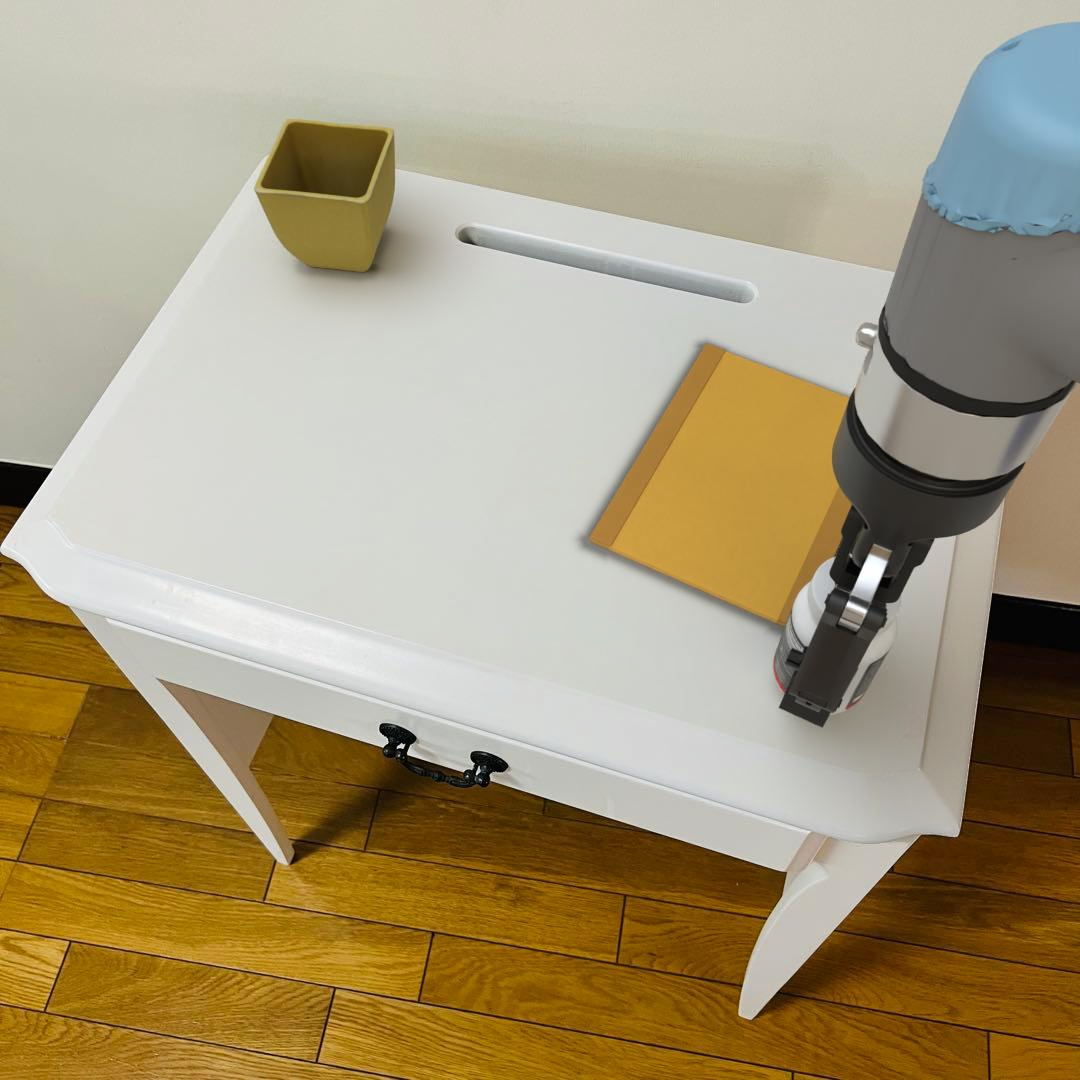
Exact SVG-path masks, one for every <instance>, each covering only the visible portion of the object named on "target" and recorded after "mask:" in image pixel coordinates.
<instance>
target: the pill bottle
mask: <svg viewBox="0 0 1080 1080" xmlns="http://www.w3.org/2000/svg"><path fill="white" fill-rule="evenodd" d="M849 555H850V556H851V558H852V554H849ZM835 557H836V556H834V557H833V558H831V559H829V560H827V561H825V562H824V563H823V564H822V565H821V566H820V567H819V568H818V569H817V571H816V572H815V574H814V577H813V578H812V580H811V581H810V582H809V583H808V584H806V585H805V586H804V587H803V588H802V590H801V591H800V592H799V594H798V595H797V597H796V599H795V601H794V604H793V606H792V609H791V612H790V614H789V617H788V620H787V623H786V625H785V627H783V631H782V634H781V636H780V639H779V641H778V645H777V647H776V649H775V651H774V655H773V662H772V671H773V677H774V680H775V683H776V685H777V687H778V689H779V691H780V692H781V693H782V694H783V695H784V694H785V692H786V689H787V687H788V685H789V682H790V680H791V678H792V676H793V673H794V671H795V669H792V668H790V667H788V666H785V665H784V664H785V662H786V660H787V657H788V655H789V653H790V651H791V649H792V648H794V649H797V650H799V651H801V652H803V650H804V648H805V646H807V647H808V646H809V644H810V642H811V639H812V637H813V635H814V632H815V630H816V628H817V626H818V623H819V621H820V619H821V616H822V614H823V612H824V610H825V607H826V606H825V605H826V604H824V602H825V600H826V597H827V595H828V593H829V594H830V593H831V591H832V590H833V589H834V587H835V582H834V581H833V580H832V578H831V577H830V574H829V572H830V569H831V567H832V564H833V562H834V559H835ZM886 604H887V608H886V609H888V610H887V613H888V614H887V618H888V619H887V621H886V624H885V626H884V628H882V627H881V629H879V631H878V633H877V634H876V636H875V637H874V639H873V640H872V642H871V643H870V645H869V647H868V649H867V651H866V653H865V655H864V657H863V658H862V660H861V662H860V664H859V666H858V668H857V670H856V672H855V674H854V675H853V677H852V679H851V681H850V683H849V685H848V687H847V689H846V691H845V692H844V694H843V696H842V699H843V700H842V703H841V705H840V707H839V708H837V710H836V712H835V711H834V713H830V715H829V716H832V715H838V714H841V713H844V712H846V711H848V710H851V709H852V708H854V707H855V706H857V705H858V703H859V702H860V701H862V699H863V697H865V694H866V693H867V692H868V689H869V688H870V685H871V684H872V682H873V680H874V679H875V676H876V675H877V674H878V671H879V669H880V668H881V666H882V664H883V663H884V661H885V659H886V657H887V655H888V653H889V652H890V650H891V649H892V646H893V644H894V641H895V640H896V637H897V632H898V613H899V611H900V608H901V607H902V595H901V596H900V598H899V599H898V600H897V602H894V603H886Z"/></svg>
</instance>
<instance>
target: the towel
mask: <svg viewBox="0 0 1080 1080" xmlns="http://www.w3.org/2000/svg"><path fill="white" fill-rule="evenodd" d="M849 398H850V397H849V396H846V395H844V394H840V393H838V392H836V391H832V390H830V389H827V388H824V387H823V386H820V385H816V384H814V383H811V382H809V381H806V380H803V379H800V378H798V377H795V376H792V375H791V374H787V373H784V372H782V371H780V370H777V369H774V368H772V367H769V366H766V365H763V364H761V363H758V362H756V361H754V360H753V361H752V360H751V359H749V358H748V359H747V358H745V357H742V356H739V355H737V354H734V353H731V352H729V351H726V350H725V349H724V348H721V347H718V346H715V345H713V344H710V343H705V345H704V346H703V347H702V350H701V351H700V353H699V355H698V356H697V358H696V360H695V361H694V362H693V365H692V366H691V367H690V369H689V371H688V373H687V375H686V376H685V378H684V379H683V381H682V383H681V384H680V386H679V387H678V390H677V391H676V393H675V394H674V396H673V398H672V399H671V401H670V403H669V405H668V406H667V408H666V409H665V411H664V413H663V414H662V415H661V418H660V419H659V421H658V422H657V424H656V426H655V427H654V429H653V431H652V433H651V434H650V435H649V438H648V439H647V441H646V443H645V444H644V446H643V447H642V449H641V451H640V453H639V454H638V456H637V457H636V459H635V460H634V462H633V464H632V466H631V467H630V469H629V471H628V472H627V474H626V476H625V477H624V479H623V481H622V482H621V484H620V486H618V489H617V490H616V492H615V494H614V496H613V497H612V499H611V500H610V502H609V503H608V505H607V507H606V508H605V510H604V512H603V514H602V515H601V517H600V518H599V520H598V521H597V524H595V527H594V528H593V530H592V532H591V533H590V535H589V542H591V543H593V544H595V545H598V546H600V547H602V548H605V549H606V550H608V551H611V552H613V553H616V554H618V555H620V556H623V557H624V558H627V559H629V560H631V561H634V562H636V563H637V564H638V563H639V564H641V565H642V566H645V567H647V568H649V569H652V570H654V571H656V572H659V573H661V574H663V575H665V576H668V577H670V578H672V579H675V580H677V581H679V582H681V583H684V584H686V585H688V586H691V587H692V588H694V589H697V590H700V591H702V592H704V593H707V594H708V595H711V596H712V597H715V598H718V599H720V600H721V601H724V602H727V603H729V604H731V605H733V606H736V607H738V608H740V609H742V610H744V611H747V612H749V613H752V614H753V615H756V616H758V617H760V618H763V619H765V620H767V621H769V622H772V623H774V624H776V625H779V626H781V627H783V628H785V625H786V623H787V620H788V617H789V614H790V612H791V609H792V606H793V604H794V601H795V599H796V597H797V595H798V594H799V592H800V591H801V590H802V588H803V587H804V586H805V585H806V584H808V583H809V582H810V581H811V580H812V578H813V577H814V574H815V572H816V571H817V569H818V568H819V567H820V566H821V565H822V564H823V563H824V562H825V561H827V560H829V559H831V558H833V557H835V556H836V554H837V552H838V550H839V547H840V545H841V543H842V541H843V537H842V534H841V529H842V527H843V524H844V522H845V519H846V517H847V515H848V512H849V510H850V508H851V505H852V504H851V502H850V501H849V500H848V499H847V498H846V496H845V495H844V493H843V492H842V490H841V488H840V487H839V485H838V483H837V480H836V478H835V475H834V471H833V466H832V448H833V443H834V440H835V437H836V434H837V431H838V429H839V426H840V423H841V420H842V418H843V415H844V412H845V409H846V406H847V404H848V401H849Z"/></svg>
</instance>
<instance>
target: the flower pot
mask: <svg viewBox="0 0 1080 1080" xmlns="http://www.w3.org/2000/svg"><path fill="white" fill-rule="evenodd" d="M395 145H396V144H395V131H394V128H393V127H388V126H376V125H362V124H351V123H349V124H347V123H346V124H345V123H337V122H327V121H320V120H311V119H302V118H287V119H285V120H284V122H283V123H282V125H281V127H280V130H279V132H278V134H277V137H276V139H275V141H274V143H273V145H272V148H271V150H270V152H269V154H268V156H267V158H266V160H265V163H264V165H263V167H262V169H261V170H260V172H259V175H258V177H257V179H256V182H255V184H254V187H253V191H254V192H255V194H256V196H257V199H258V201H259V203H260V206H261V208H262V210H263V212H264V214H265V217H266V219H267V221H268V223H269V225H270V227H271V229H272V231H273V233H274V235H275V237H276V238H277V239H278V242H280V244H281V245H282V247H284V249H285V250H286V251H287V252H288V253H290V254H291V255H292V256H293V257H294V258H296V259H297V260H299V261H300V262H302V263H303V264H305V265H306V266H308V267H310V268H311V267H312V268H320V269H332V270H342V271H348V272H349V271H351V272H360V273H362V272H363V273H364V272H366V271H368V270H369V269H370V268H371V266H372V264H373V262H374V259H375V256H376V254H377V250H378V247H379V244H380V242H381V239H382V236H383V232H384V230H385V227H386V224H387V222H388V219H389V216H390V213H391V209H392V206H393V202H394V197H395V191H396V152H395V151H396V149H395V148H396V146H395Z"/></svg>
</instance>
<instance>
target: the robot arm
mask: <svg viewBox="0 0 1080 1080" xmlns="http://www.w3.org/2000/svg"><path fill="white" fill-rule="evenodd" d="M920 190H921V193H920V197H919V200H918V202H917V206H916V209H915V211H914V215H913V218H912V221H911V224H910V227H909V231H908V233H907V236H906V238H905V242H904V245H903V248H902V251H901V254H900V257H899V260H898V263H897V266H896V269H895V272H894V274H893V275H894V276H893V278H892V281H891V283H890V284H891V285H890V287H889V290H888V294H887V297H886V299H885V302H884V305H883V307H882V308H881V311H880V314H879V317H878V321H877V324H876V323H873V322H867V321H865V322H863V323H862V324H860V326H859V327H858V329H857V331H856V333H855V339H854V340H855V343H856V344H857V345H858V346H860V347H862V348H865V349H868V351H867V353H866V355H865V357H864V360H863V363H862V365H861V368H860V372H859V373H858V377H857V380H856V384H855V387H854V388H853V390H852V392H851V394H850V395H849V397H848V398H849V401H848V404H847V406H846V409H845V412H844V415H843V418H842V420H841V423H840V426H839V429H838V431H837V434H836V437H835V440H834V443H833V448H832V466H833V471H834V475H835V478H836V480H837V483H838V485H839V487H840V488H841V490H842V492H843V493H844V495H845V496H846V498H847V499H848V500H849V501H850V502H851V504H852V505H851V508H850V510H849V512H848V515H847V517H846V519H845V522H844V524H843V527H842V529H841V534H842V540H841V542H840V544H839V547H838V549H837V551H836V554H835V556H834V557H835V559H834V562H833V564H832V567H831V569H830V572H829V574H830V577H831V578H832V580H833V581H834V582H835V587H834V589H833V590H832V591H831V593H830V594H829V593H828V595H827V597H826V600H825V602H824V604H826V605H825V606H826V607H825V610H824V612H823V614H822V616H821V619H820V621H819V623H818V626H817V628H816V630H815V632H814V635H813V637H812V639H811V642H810V644H809V646H808V647H807V646H805V648H804V650H803V652H801V651H799V650H797V649H794V648H792V649H791V651H790V653H789V655H788V657H787V660H786V662H785V664H784V665H785V666H788V667H790V668H792V669H795V671H794V673H793V676H792V678H791V680H790V682H789V685H788V687H787V689H786V692H785V694H783V696H782V699H781V701H780V704H779V706H778V709H780V710H782V711H785V712H787V713H789V714H791V715H794V716H795V717H798V718H800V719H802V720H804V721H807V722H809V723H811V724H813V725H815V726H818V727H820V728H824V726H825V725H826V722H827V721H828V719H829V717H830V716H831V715H830V713H834V711H835V712H836V710H837V708H839V707H840V705H841V703H842V700H843V699H842V696H843V694H844V692H845V691H846V689H847V687H848V685H849V683H850V681H851V679H852V677H853V675H854V674H855V672H856V670H857V668H858V666H859V664H860V662H861V660H862V658H863V657H864V655H865V653H866V651H867V649H868V647H869V645H870V643H871V642H872V640H873V639H874V637H875V636H876V634H877V633H878V631H879V629H881V627H882V628H884V626H885V624H886V621H887V619H888V618H887V614H888V613H887V610H888V609H886V608H887V604H886V603H894V602H897V600H898V599H899V598H900V596H901V597H902V593H903V592H904V589H905V588H906V586H907V584H908V582H909V579H910V577H911V575H912V573H913V572H914V570H915V568H917V567H920V566H922V565H923V563H924V562H925V560H926V558H927V557H928V554H929V552H930V550H931V549H932V546H933V544H934V542H935V540H936V539H943V538H950V537H955V536H959V535H963V534H965V533H969V532H970V531H973V530H975V529H976V528H978V527H980V526H981V525H983V524H985V523H986V522H987V521H989V519H990V518H991V517H992V516H994V514H995V513H996V512H997V510H998V509H999V507H1000V506H1001V504H1002V503H1003V501H1004V500H1005V498H1006V496H1007V494H1008V493H1009V491H1010V490H1011V489H1012V486H1013V485H1014V483H1015V481H1016V480H1017V478H1018V477H1019V476H1020V473H1021V472H1022V470H1023V469H1024V467H1025V465H1026V463H1027V461H1028V460H1029V459H1030V458H1031V456H1032V455H1033V453H1034V452H1035V451H1036V449H1037V448H1038V446H1039V445H1040V443H1041V442H1042V440H1043V438H1044V437H1045V436H1046V434H1047V432H1048V430H1049V429H1050V428H1051V426H1052V424H1053V422H1054V421H1055V419H1056V418H1057V416H1058V415H1059V413H1060V412H1061V410H1062V408H1063V406H1064V405H1065V403H1066V402H1067V401H1068V398H1069V397H1070V395H1071V394H1072V392H1073V391H1074V389H1075V387H1076V385H1077V384H1079V385H1080V21H1070V22H1059V23H1053V24H1048V25H1042V26H1038V27H1036V28H1032V29H1028V30H1027V31H1025V32H1022V33H1020V34H1018V35H1015V36H1014V37H1012V38H1010V39H1009V40H1006V41H1005V42H1004V43H1003V42H1002V44H1000V45H999V46H998V47H997V48H995V49H994V50H992V51H991V52H989V53H988V54H986V55H985V56H984V57H983V58H982V59H981V61H980V62H979V63H978V65H977V67H976V68H975V70H974V71H973V72H972V74H971V76H970V78H969V80H968V82H967V84H966V86H965V89H964V91H963V94H962V95H961V98H960V101H959V103H958V105H957V109H956V110H955V113H954V115H953V117H952V119H951V122H950V124H949V126H948V129H947V131H946V133H945V135H944V138H943V140H942V142H941V145H940V147H939V150H938V152H937V154H936V156H935V159H934V160H933V161H932V162H930V163H929V164H928V165H927V168H926V169H925V173H924V176H923V178H922V187H921V189H920ZM849 554H852V558H851V556H850V555H849Z"/></svg>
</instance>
